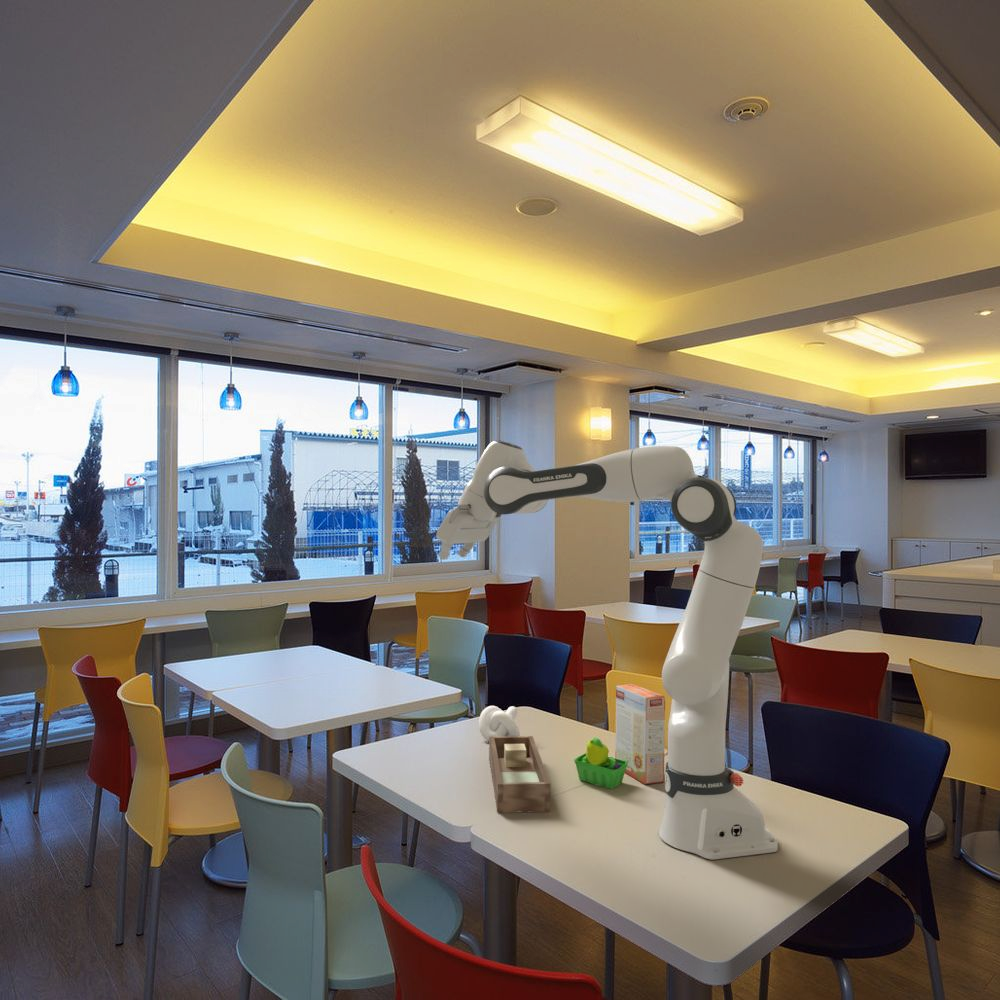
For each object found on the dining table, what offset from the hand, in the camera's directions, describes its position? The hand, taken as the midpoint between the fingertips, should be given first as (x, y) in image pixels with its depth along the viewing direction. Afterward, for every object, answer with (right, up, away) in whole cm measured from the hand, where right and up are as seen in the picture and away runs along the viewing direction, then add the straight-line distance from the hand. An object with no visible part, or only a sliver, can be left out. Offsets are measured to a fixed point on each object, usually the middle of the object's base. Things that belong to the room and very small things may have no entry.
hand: (452, 557), depth 170 cm
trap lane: (+15, -54, +4) cm, 56 cm away
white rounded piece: (+12, -55, +39) cm, 68 cm away
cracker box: (+46, -55, +11) cm, 72 cm away
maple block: (+15, -51, +9) cm, 54 cm away
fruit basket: (+35, -55, +5) cm, 65 cm away
